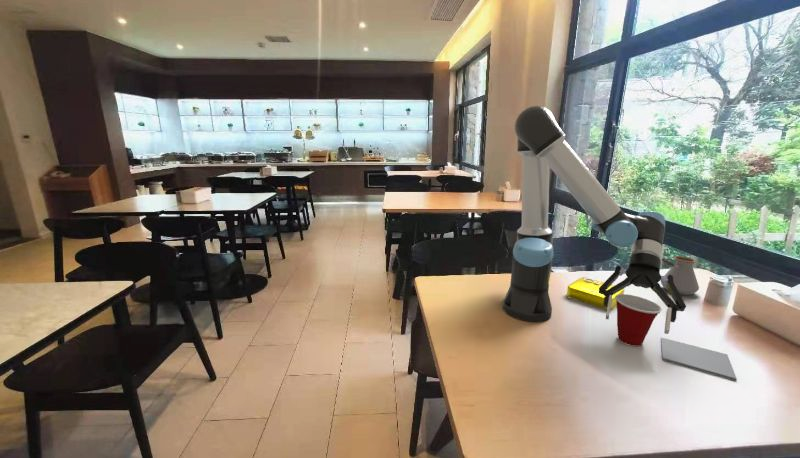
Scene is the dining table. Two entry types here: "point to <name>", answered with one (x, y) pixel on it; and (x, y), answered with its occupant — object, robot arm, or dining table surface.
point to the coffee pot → (682, 275)
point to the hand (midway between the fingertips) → (635, 324)
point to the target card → (697, 358)
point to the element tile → (590, 292)
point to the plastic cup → (634, 318)
